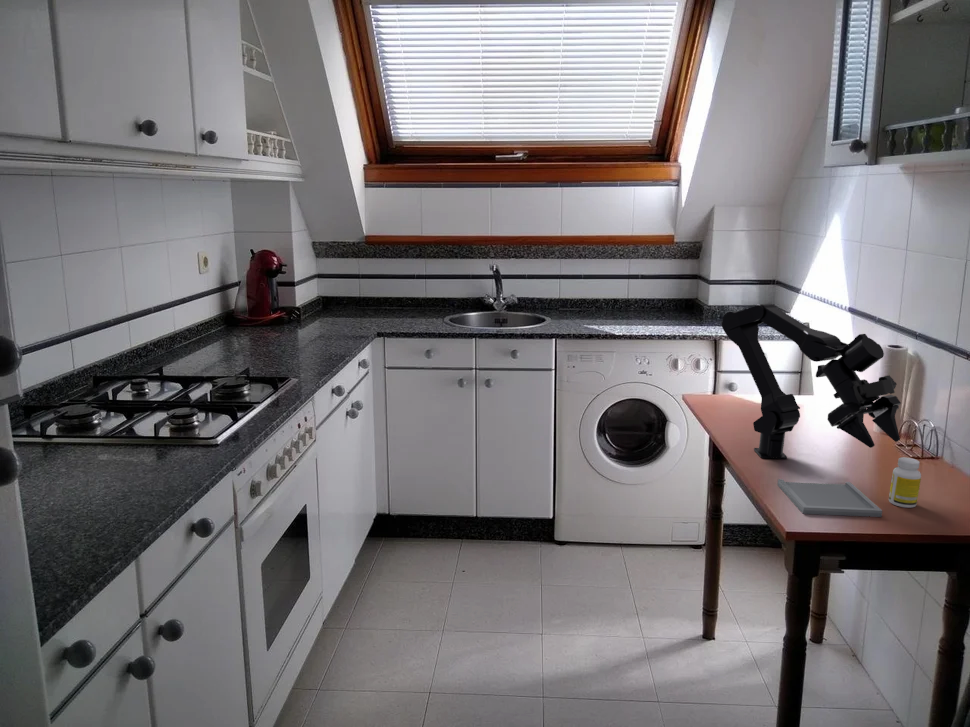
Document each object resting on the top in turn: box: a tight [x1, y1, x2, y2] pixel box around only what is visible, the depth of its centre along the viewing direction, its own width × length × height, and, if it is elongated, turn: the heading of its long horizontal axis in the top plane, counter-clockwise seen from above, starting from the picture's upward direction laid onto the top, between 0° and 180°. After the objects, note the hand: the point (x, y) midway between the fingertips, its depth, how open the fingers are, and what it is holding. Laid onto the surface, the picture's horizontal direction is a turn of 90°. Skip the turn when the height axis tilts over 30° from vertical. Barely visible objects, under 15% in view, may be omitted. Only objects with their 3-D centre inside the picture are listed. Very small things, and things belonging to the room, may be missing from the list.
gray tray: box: [777, 478, 883, 518], centre depth 171 cm, size 16×16×1 cm
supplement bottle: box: [888, 456, 922, 509], centre depth 170 cm, size 5×5×10 cm
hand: (885, 443), depth 173 cm, fingers open, 9 cm apart
